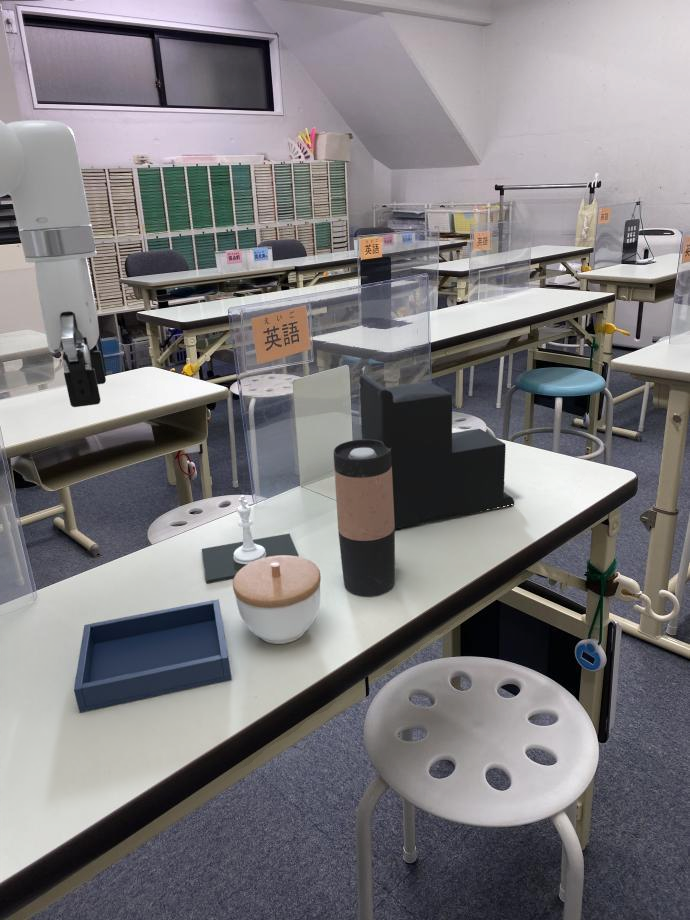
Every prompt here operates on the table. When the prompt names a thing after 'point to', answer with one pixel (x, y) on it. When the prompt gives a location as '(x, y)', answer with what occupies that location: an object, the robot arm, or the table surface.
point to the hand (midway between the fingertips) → (89, 394)
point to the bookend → (432, 453)
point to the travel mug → (365, 516)
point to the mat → (225, 567)
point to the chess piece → (247, 538)
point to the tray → (151, 655)
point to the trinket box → (278, 597)
